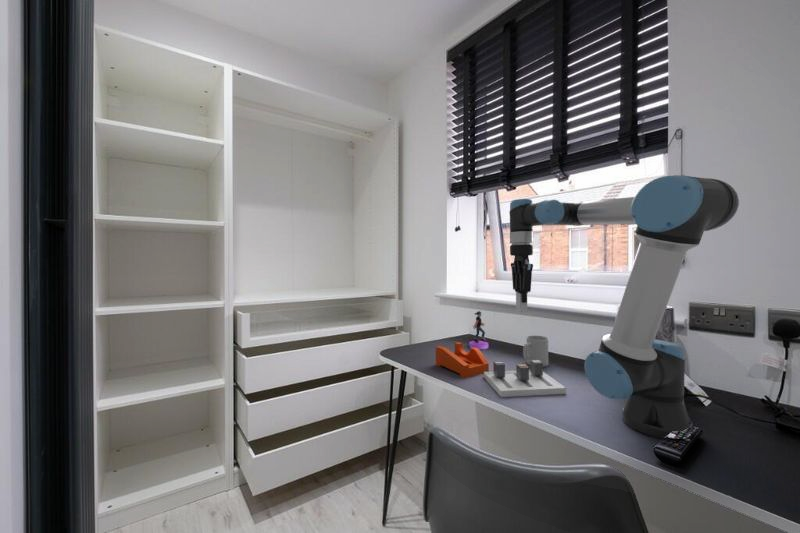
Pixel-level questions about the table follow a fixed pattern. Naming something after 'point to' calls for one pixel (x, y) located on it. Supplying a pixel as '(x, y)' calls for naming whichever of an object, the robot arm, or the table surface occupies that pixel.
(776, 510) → the table surface
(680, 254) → the robot arm
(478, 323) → the figurine
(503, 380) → the panel
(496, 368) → the block
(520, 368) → the block
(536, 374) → the block
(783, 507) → the table surface
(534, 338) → the mug
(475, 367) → the tape dispenser
